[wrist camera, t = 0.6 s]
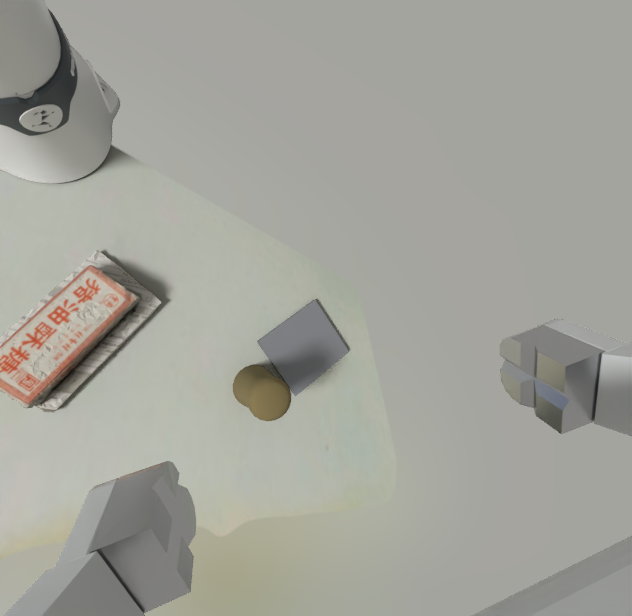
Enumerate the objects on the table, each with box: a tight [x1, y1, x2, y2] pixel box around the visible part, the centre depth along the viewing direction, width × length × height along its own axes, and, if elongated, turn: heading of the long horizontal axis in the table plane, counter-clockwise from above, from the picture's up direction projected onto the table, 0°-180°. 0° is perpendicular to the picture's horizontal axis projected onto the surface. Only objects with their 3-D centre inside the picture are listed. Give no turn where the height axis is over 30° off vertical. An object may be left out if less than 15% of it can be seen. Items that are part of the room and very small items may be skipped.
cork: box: [233, 365, 291, 421], centre depth 44 cm, size 6×6×11 cm
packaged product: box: [0, 250, 162, 412], centre depth 40 cm, size 18×5×10 cm
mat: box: [257, 300, 349, 396], centre depth 52 cm, size 10×11×1 cm
